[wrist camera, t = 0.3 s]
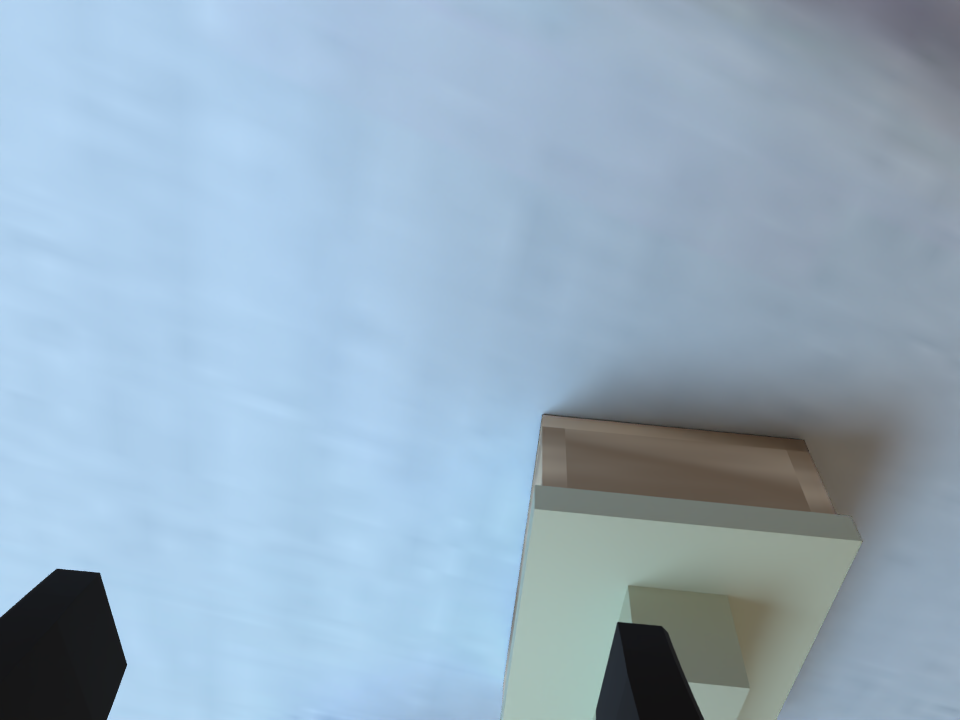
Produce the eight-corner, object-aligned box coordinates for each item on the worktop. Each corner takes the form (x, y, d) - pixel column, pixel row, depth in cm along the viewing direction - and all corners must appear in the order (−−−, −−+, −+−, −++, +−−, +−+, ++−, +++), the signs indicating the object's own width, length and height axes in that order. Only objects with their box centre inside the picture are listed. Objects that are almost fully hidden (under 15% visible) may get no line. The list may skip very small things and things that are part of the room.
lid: (718, 772, 26) (744, 911, 22) (493, 749, 26) (486, 883, 23) (841, 494, 19) (905, 634, 16) (534, 464, 19) (533, 597, 16)
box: (701, 704, 28) (717, 790, 25) (503, 684, 28) (499, 767, 25) (804, 439, 21) (839, 521, 18) (541, 414, 21) (542, 492, 19)
